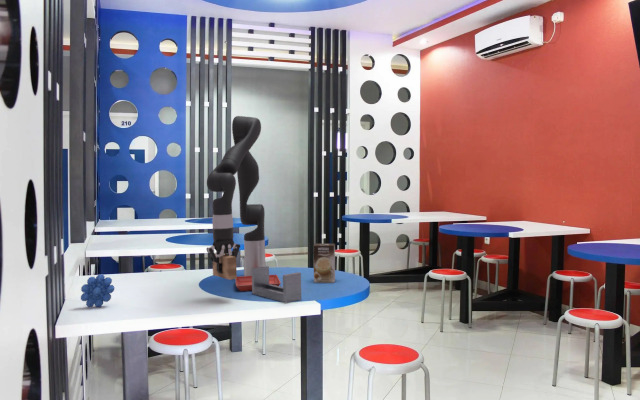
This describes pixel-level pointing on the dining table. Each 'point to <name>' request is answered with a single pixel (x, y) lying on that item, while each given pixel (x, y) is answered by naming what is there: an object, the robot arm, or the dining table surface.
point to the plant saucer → (246, 282)
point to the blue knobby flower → (97, 290)
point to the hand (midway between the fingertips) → (224, 272)
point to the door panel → (226, 267)
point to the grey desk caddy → (282, 294)
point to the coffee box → (324, 263)
